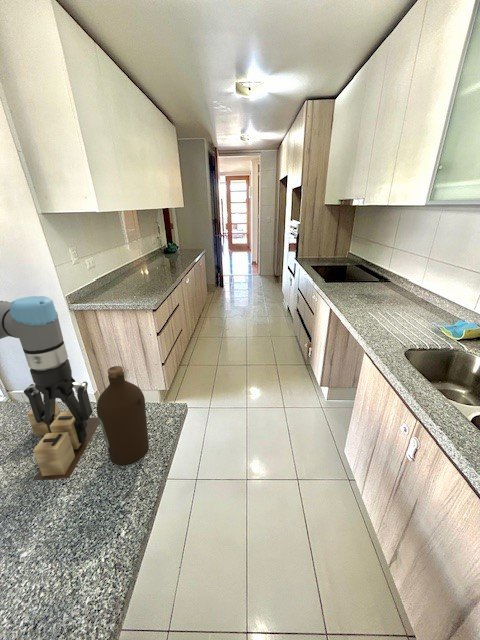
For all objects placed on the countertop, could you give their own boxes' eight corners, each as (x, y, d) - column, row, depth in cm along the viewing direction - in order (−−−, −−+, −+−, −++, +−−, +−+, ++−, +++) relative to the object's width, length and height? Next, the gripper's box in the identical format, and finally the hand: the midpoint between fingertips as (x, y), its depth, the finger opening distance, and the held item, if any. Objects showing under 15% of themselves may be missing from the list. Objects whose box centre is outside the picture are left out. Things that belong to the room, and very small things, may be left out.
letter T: (42, 476, 60) (32, 449, 57) (54, 457, 65) (45, 431, 62) (64, 474, 61) (56, 447, 58) (75, 456, 66) (67, 430, 62)
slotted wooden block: (35, 437, 72) (26, 413, 69) (45, 424, 76) (38, 400, 73) (54, 436, 72) (46, 411, 69) (63, 423, 77) (56, 399, 74)
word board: (33, 482, 60) (32, 480, 59) (76, 420, 78) (75, 418, 78) (69, 479, 60) (69, 477, 60) (103, 418, 79) (103, 417, 79)
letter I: (57, 450, 66) (48, 424, 63) (67, 435, 71) (60, 410, 68) (77, 449, 67) (70, 423, 64) (86, 434, 71) (80, 409, 68)
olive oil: (151, 432, 74) (140, 355, 65) (151, 463, 65) (138, 378, 56) (110, 440, 71) (93, 361, 62) (104, 474, 62) (83, 386, 53)
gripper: (-6, 373, 56) (25, 454, 64) (82, 370, 57) (101, 449, 66) (19, 356, 63) (44, 431, 71) (96, 353, 64) (112, 427, 73)
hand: (71, 439), depth 68 cm, fingers closed on letter I, 5 cm apart
